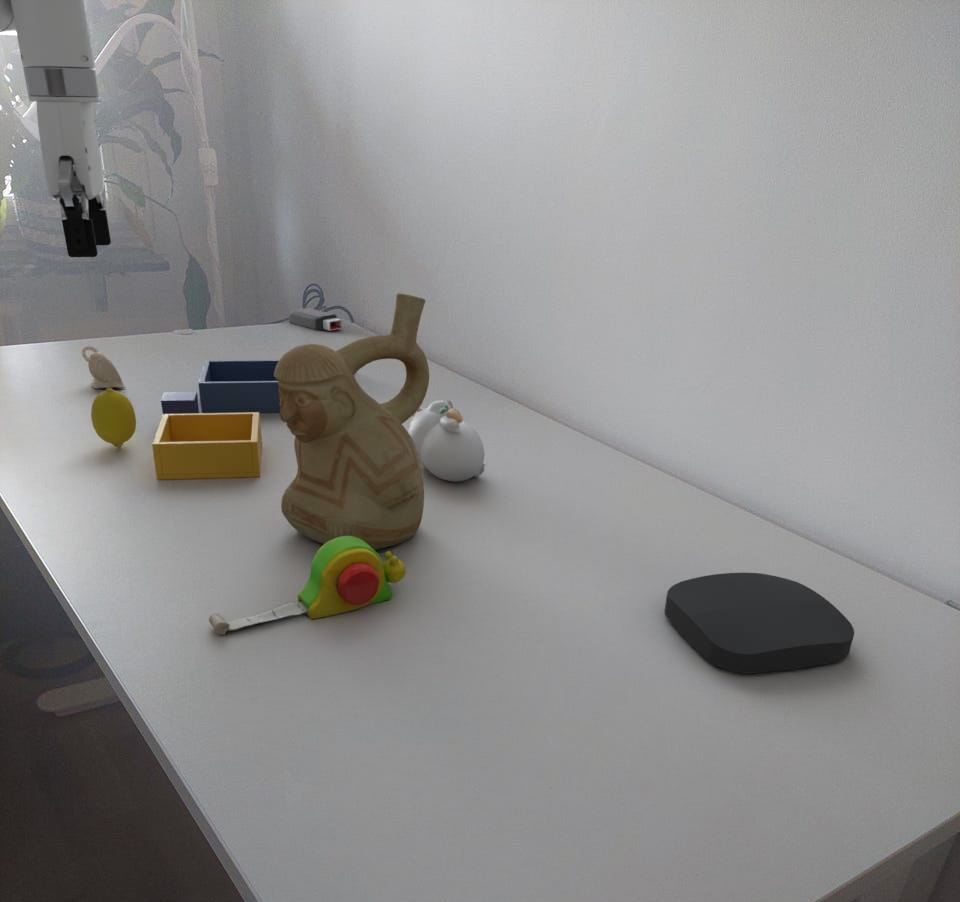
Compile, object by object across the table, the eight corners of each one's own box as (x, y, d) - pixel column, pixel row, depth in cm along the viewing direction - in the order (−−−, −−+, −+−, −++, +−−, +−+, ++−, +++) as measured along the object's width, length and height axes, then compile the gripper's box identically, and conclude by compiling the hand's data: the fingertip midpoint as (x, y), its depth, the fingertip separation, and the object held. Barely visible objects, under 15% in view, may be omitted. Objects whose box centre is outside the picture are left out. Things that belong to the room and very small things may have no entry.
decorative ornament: (100, 392, 152) (95, 358, 150) (83, 380, 158) (77, 347, 155) (126, 389, 154) (121, 355, 152) (108, 377, 160) (103, 344, 157)
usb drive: (308, 319, 204) (308, 305, 202) (345, 329, 197) (345, 315, 195) (288, 322, 200) (288, 308, 199) (325, 332, 193) (325, 318, 192)
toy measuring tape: (419, 603, 94) (419, 542, 91) (222, 648, 86) (215, 582, 82) (391, 577, 99) (390, 518, 96) (202, 617, 90) (194, 553, 87)
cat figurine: (482, 417, 116) (427, 372, 127) (429, 456, 116) (378, 408, 126) (510, 472, 123) (455, 426, 133) (460, 510, 123) (409, 460, 133)
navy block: (165, 432, 137) (160, 400, 134) (168, 422, 140) (164, 391, 138) (197, 431, 137) (194, 400, 135) (200, 421, 141) (196, 391, 139)
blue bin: (201, 413, 145) (198, 383, 142) (207, 388, 156) (204, 360, 154) (294, 412, 147) (292, 382, 145) (293, 387, 158) (291, 359, 156)
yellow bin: (157, 479, 121) (152, 444, 118) (167, 447, 131) (162, 413, 129) (260, 476, 123) (257, 441, 120) (262, 444, 133) (259, 412, 131)
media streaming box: (722, 682, 84) (727, 652, 82) (650, 605, 96) (654, 577, 94) (866, 662, 87) (874, 633, 86) (779, 590, 100) (785, 564, 98)
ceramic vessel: (245, 532, 108) (223, 298, 95) (380, 490, 120) (376, 278, 107) (340, 583, 97) (329, 329, 85) (477, 532, 110) (485, 303, 97)
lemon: (89, 446, 130) (79, 387, 126) (127, 438, 134) (119, 380, 130) (108, 457, 127) (98, 396, 123) (147, 448, 130) (139, 389, 127)
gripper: (44, 86, 115) (71, 241, 123) (8, 86, 100) (42, 262, 108) (110, 87, 116) (133, 240, 124) (84, 87, 101) (112, 261, 110)
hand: (90, 250), depth 116 cm, fingers open, 9 cm apart
